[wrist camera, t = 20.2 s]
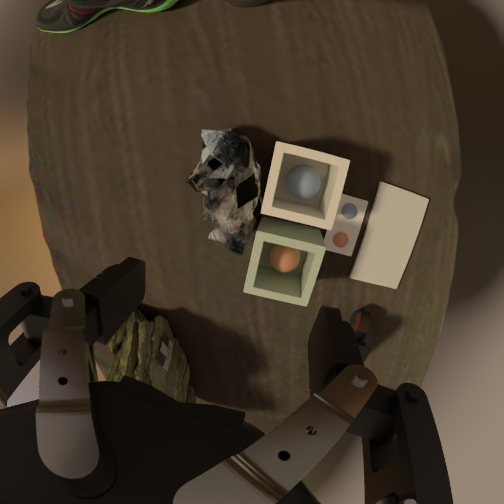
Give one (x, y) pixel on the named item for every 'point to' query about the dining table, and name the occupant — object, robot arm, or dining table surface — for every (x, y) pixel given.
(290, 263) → the terracotta ball
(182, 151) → the dining table surface
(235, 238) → the foil
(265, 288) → the sage cup
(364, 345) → the toy gun
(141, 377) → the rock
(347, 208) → the card
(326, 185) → the cream cup
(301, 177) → the blue ball
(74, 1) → the running shoe
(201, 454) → the robot arm
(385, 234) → the felt mat
